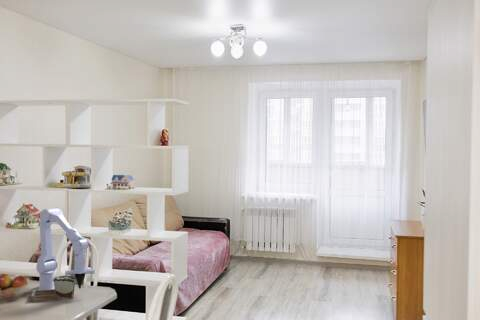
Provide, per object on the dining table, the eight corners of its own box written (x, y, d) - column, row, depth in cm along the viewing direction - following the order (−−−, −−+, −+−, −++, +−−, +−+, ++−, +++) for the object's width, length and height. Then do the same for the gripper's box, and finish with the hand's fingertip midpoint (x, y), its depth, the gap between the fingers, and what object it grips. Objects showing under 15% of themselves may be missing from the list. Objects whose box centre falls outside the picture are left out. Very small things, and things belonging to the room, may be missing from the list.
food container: (80, 294, 247) (81, 276, 246) (74, 298, 241) (75, 279, 240) (59, 293, 249) (59, 274, 248) (52, 296, 243) (52, 277, 242)
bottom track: (33, 295, 245) (33, 289, 244) (60, 293, 249) (60, 287, 249) (31, 301, 234) (31, 295, 234) (59, 300, 238) (59, 294, 238)
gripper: (65, 264, 240) (64, 291, 240) (94, 263, 244) (94, 289, 245) (65, 261, 246) (65, 287, 247) (94, 260, 251) (94, 285, 251)
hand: (79, 287), depth 246 cm, fingers closed
